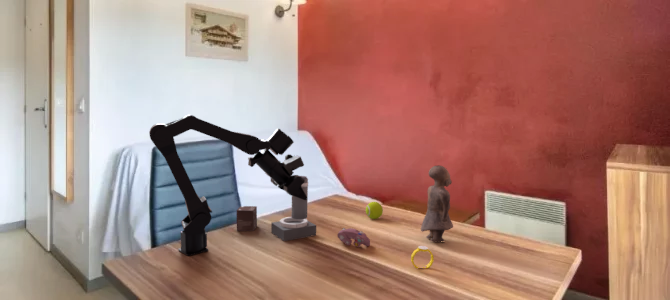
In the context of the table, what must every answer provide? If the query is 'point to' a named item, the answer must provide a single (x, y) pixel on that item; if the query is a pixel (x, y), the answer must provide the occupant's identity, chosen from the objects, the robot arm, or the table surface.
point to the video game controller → (353, 237)
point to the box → (247, 218)
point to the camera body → (293, 228)
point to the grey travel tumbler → (300, 203)
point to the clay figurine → (438, 205)
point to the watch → (424, 249)
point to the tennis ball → (374, 210)
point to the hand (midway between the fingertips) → (303, 197)
